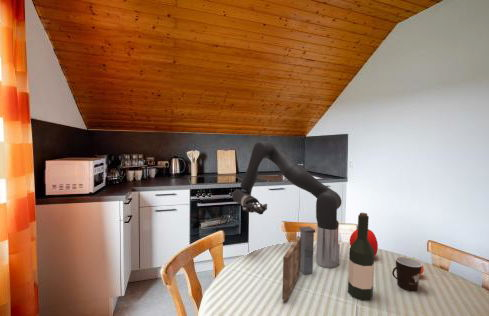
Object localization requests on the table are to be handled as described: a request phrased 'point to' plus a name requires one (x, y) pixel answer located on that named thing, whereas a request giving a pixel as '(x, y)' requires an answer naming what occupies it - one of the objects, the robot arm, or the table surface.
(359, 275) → the wine bottle
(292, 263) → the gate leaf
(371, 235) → the tomato
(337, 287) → the table surface
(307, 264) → the gate post
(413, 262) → the coffee mug
